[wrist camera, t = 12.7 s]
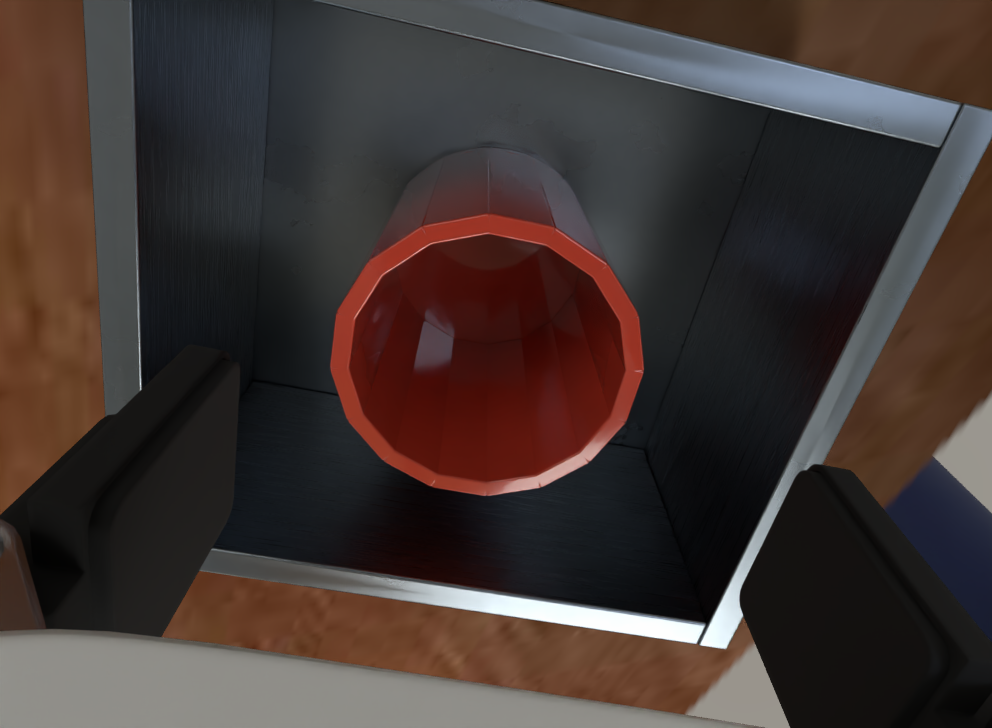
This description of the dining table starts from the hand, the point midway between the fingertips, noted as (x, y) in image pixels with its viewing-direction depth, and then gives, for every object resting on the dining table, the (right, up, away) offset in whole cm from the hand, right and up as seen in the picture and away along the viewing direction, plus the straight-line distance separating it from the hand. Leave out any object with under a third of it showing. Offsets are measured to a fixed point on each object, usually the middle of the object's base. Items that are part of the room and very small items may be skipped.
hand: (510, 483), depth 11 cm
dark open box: (-1, +6, +11) cm, 12 cm away
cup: (-1, +5, +10) cm, 11 cm away
